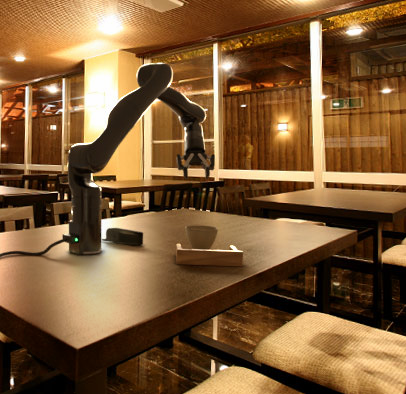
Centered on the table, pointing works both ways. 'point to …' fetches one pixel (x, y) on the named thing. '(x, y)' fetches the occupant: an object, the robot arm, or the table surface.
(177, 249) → the low wooden tray
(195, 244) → the flower pot
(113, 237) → the black rounded block
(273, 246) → the table surface
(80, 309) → the table surface
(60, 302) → the table surface
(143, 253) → the table surface
